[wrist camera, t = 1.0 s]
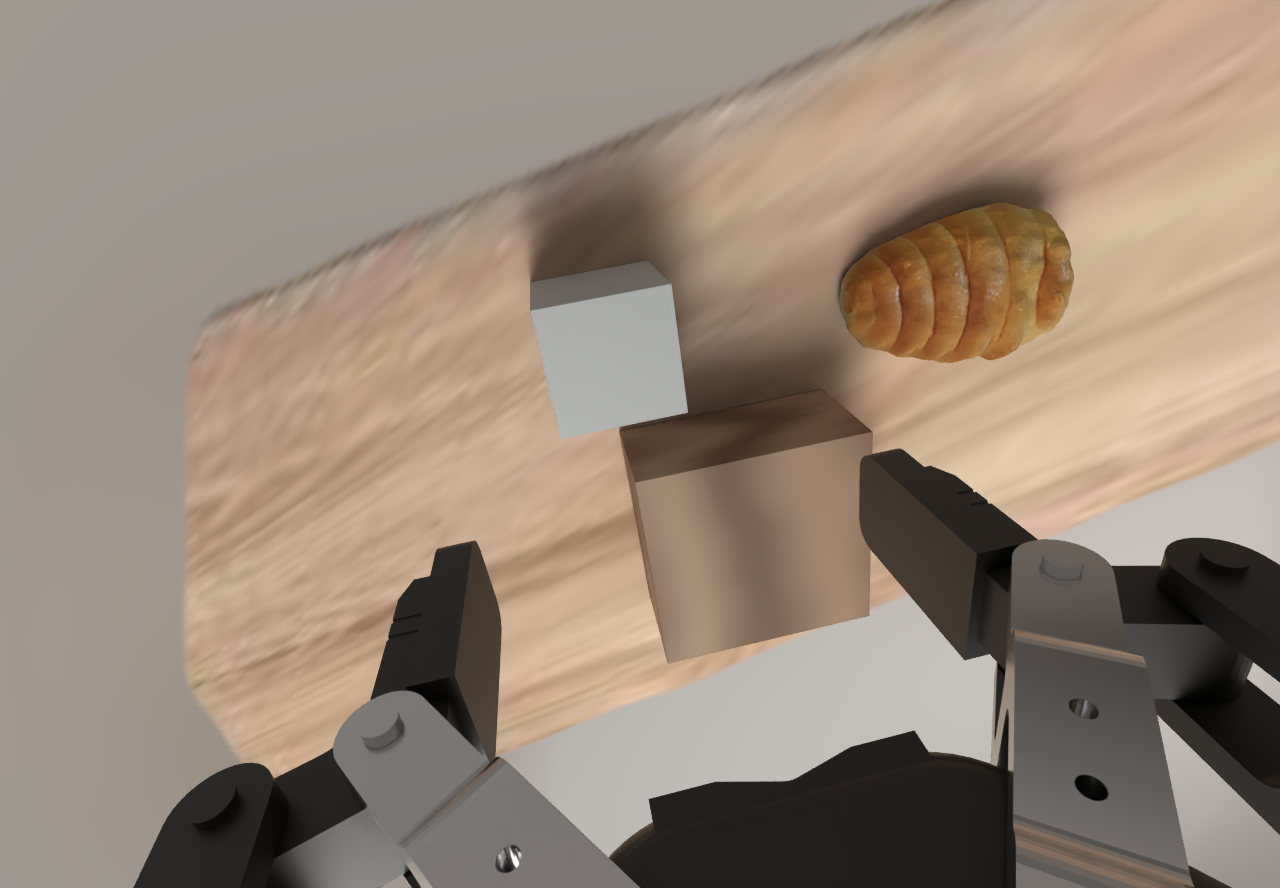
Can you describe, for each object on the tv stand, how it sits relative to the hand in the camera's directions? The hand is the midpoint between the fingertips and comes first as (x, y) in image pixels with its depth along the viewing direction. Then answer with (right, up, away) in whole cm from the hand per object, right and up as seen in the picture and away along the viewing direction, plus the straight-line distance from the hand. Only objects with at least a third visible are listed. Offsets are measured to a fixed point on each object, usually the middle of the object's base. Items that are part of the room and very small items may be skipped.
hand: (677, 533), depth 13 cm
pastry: (+13, +9, +17) cm, 23 cm away
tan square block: (+4, -1, +19) cm, 20 cm away
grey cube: (-2, +7, +14) cm, 16 cm away
